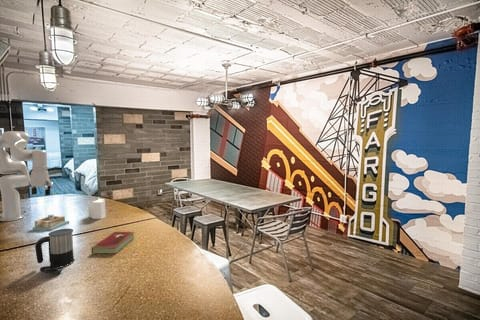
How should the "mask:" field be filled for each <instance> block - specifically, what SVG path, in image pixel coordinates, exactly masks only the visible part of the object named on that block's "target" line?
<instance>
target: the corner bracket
mask: <svg viewBox="0 0 480 320" xmlns="http://www.w3.org/2000/svg"><path fill="white" fill-rule="evenodd" d="M106 217H107V214H106V199H105V198H99V199H97V200H94V201H92V202H91V204H90V205H89V206H88V218H92V220H101V219H103V218H106Z"/></svg>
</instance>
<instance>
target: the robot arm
mask: <svg viewBox="0 0 480 320" xmlns="http://www.w3.org/2000/svg"><path fill="white" fill-rule="evenodd" d="M29 141H30V135H29V134H28V133H27V132H26V131H21V130H20V131H19V130H18V131H17V130H16V131H15V130H10V131H9V130H8V131H5V132H2V134H1V135H0V174H1V175H3V176H0V195H1V207H2V212H1V213H0V221H1V222H12V221H19V220H21V219H23V218H24V217H25V215H24V214H22V210H21V208H22V207H21V196H20V192H19V191H18V190H17V189H16V188H21V187H27V186H29V188H30V189H31V196H32V195H37V194H38V187H39V188H44V195H45V196H46V197H47V196H50V195H51V189H52V187H53V185H54V182H52V181H51V180H50V174H49V171H48V153H47V151H46V150H42V149H39V148H37V149H36V148H35V149H34V148H31V149H25V148H27V146H28V142H29ZM3 148H7V149H8V148H9V152H8V151H6V150H5V149H3ZM9 153H10V154H9ZM10 155H11V156H12V157H13V158H14V159H12V158H11V156H10ZM26 162H31V163H32V164H31V166H32V167H31V169H32V171H31V172H30V171H29V169H28V166H27V164H26ZM29 172H30V173H31V174H30V173H29Z"/></svg>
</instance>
